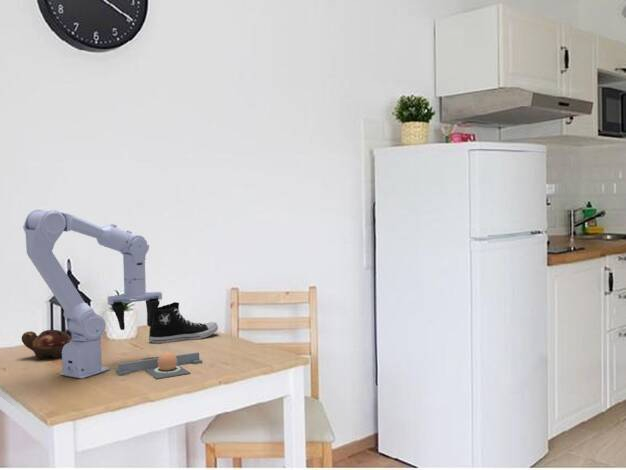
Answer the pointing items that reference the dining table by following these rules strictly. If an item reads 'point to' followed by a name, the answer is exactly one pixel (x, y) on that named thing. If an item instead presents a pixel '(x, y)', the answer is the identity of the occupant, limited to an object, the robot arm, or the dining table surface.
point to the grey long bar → (155, 363)
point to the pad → (160, 374)
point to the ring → (150, 358)
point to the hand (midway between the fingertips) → (136, 327)
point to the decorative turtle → (46, 342)
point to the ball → (167, 361)
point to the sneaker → (177, 326)
